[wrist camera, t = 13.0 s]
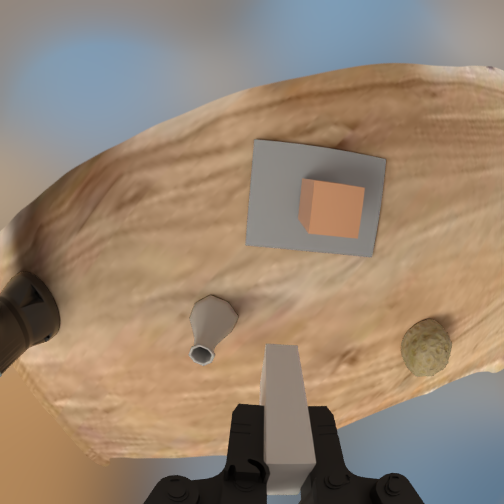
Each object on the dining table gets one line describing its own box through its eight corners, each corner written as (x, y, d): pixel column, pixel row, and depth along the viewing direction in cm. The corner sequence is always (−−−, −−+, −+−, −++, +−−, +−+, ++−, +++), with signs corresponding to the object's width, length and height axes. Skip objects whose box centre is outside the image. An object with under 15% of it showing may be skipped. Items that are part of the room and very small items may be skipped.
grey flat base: (245, 243, 38) (240, 268, 29) (254, 140, 34) (251, 128, 25) (369, 255, 38) (398, 280, 29) (383, 159, 34) (418, 158, 25)
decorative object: (396, 318, 45) (389, 365, 38) (446, 305, 38) (446, 354, 31) (410, 344, 48) (404, 387, 41) (455, 334, 41) (454, 379, 34)
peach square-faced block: (297, 218, 35) (308, 233, 27) (302, 178, 34) (314, 180, 26) (336, 222, 35) (357, 238, 27) (341, 183, 34) (364, 187, 25)
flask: (209, 286, 41) (194, 320, 31) (247, 315, 42) (242, 355, 32) (182, 316, 42) (163, 354, 33) (217, 343, 43) (207, 384, 34)
